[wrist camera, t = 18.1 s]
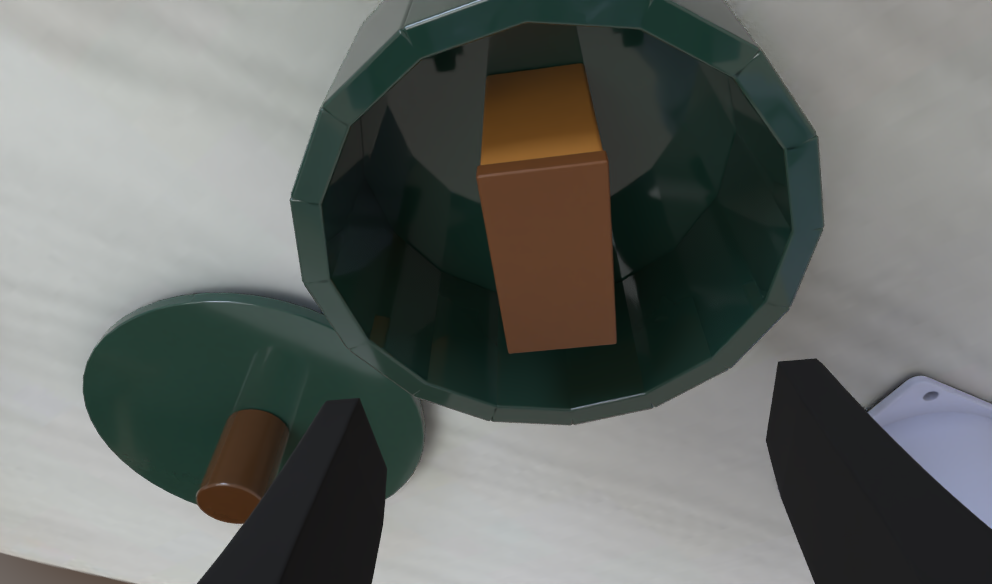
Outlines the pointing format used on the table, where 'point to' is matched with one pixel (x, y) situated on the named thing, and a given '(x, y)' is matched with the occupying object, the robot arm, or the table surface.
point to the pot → (633, 195)
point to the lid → (234, 396)
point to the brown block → (547, 210)
